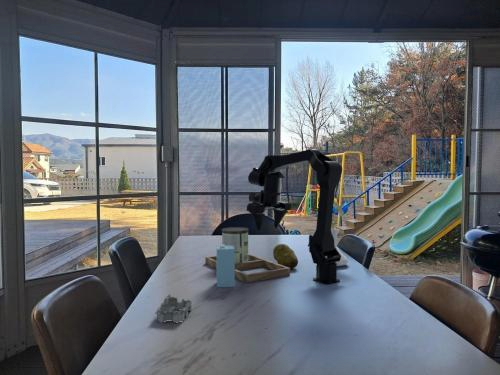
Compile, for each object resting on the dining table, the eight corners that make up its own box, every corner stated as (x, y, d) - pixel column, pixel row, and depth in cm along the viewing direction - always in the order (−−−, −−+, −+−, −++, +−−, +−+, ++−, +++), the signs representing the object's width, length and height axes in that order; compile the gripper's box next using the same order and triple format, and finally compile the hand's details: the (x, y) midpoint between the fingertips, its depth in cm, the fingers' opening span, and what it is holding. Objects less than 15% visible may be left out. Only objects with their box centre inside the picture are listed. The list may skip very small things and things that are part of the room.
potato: (276, 271, 143) (277, 249, 142) (271, 262, 156) (271, 242, 155) (299, 270, 144) (299, 248, 143) (292, 262, 156) (292, 242, 156)
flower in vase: (346, 269, 144) (347, 202, 143) (316, 267, 148) (316, 201, 147) (349, 261, 157) (350, 199, 156) (321, 259, 161) (321, 199, 159)
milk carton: (233, 281, 129) (233, 243, 129) (234, 286, 124) (234, 246, 123) (216, 282, 129) (216, 243, 128) (217, 287, 123) (217, 246, 123)
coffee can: (224, 261, 158) (224, 226, 157) (249, 262, 157) (249, 227, 156) (219, 267, 147) (219, 230, 147) (247, 268, 146) (247, 231, 146)
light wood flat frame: (290, 275, 137) (290, 268, 137) (246, 282, 128) (246, 275, 128) (244, 258, 163) (244, 252, 163) (205, 263, 154) (205, 257, 154)
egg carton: (168, 308, 105) (168, 293, 105) (195, 310, 104) (195, 295, 104) (152, 323, 95) (151, 306, 94) (181, 325, 93) (181, 308, 93)
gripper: (272, 184, 160) (269, 221, 162) (238, 186, 147) (235, 226, 149) (293, 189, 152) (289, 228, 154) (259, 191, 139) (255, 233, 141)
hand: (267, 228), depth 150 cm, fingers open, 9 cm apart
